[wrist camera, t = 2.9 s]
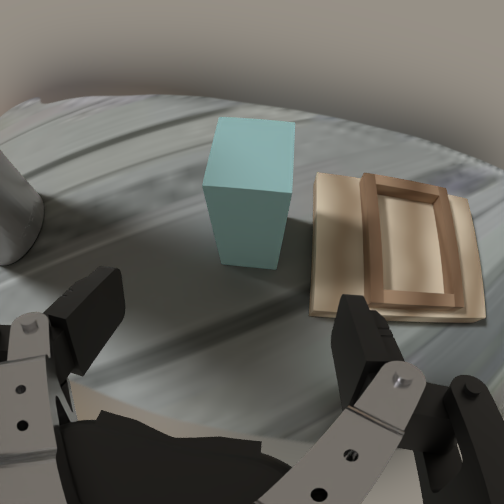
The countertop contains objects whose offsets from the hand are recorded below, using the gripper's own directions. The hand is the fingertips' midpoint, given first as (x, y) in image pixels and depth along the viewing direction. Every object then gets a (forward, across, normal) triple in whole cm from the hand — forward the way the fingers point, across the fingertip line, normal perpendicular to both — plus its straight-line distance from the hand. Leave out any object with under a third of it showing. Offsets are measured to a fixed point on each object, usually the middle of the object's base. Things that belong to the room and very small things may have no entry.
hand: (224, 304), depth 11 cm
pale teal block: (+15, 0, +3) cm, 16 cm away
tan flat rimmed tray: (+15, -13, +3) cm, 20 cm away
